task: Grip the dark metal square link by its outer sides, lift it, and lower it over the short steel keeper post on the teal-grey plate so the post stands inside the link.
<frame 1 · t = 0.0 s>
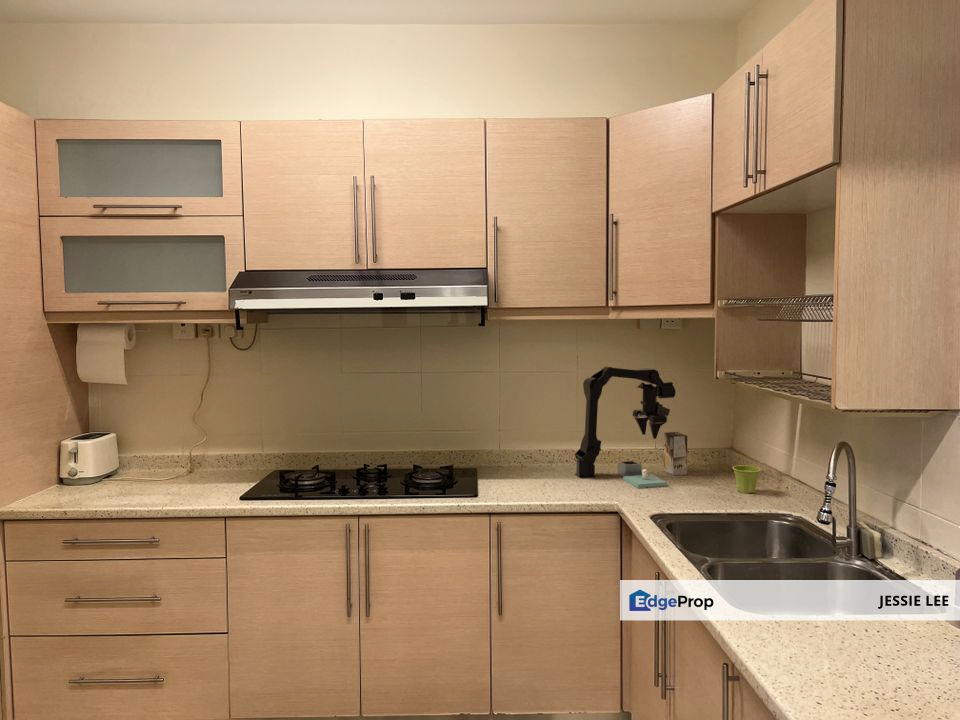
hand: (649, 436, 258), 15 cm above the worktop, tool pointing down, fingers open, 9 cm apart
keeper: (644, 483, 241), on the worktop
link: (629, 474, 253), on the worktop
plant pot: (746, 492, 228), on the worktop
coffee box: (675, 472, 257), on the worktop
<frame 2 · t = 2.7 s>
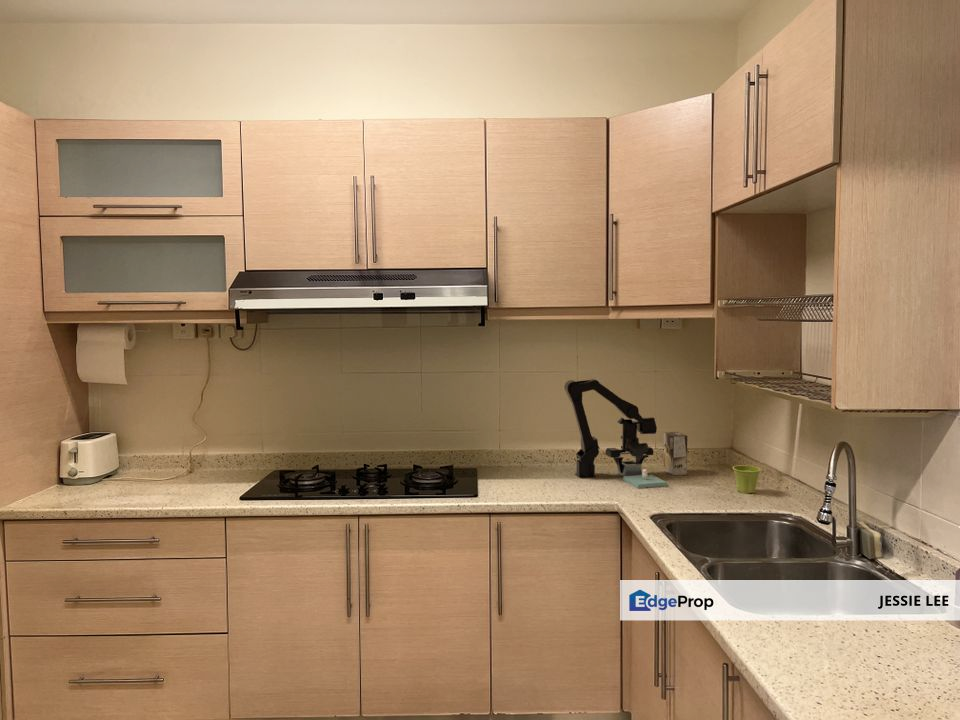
hand: (629, 472, 253), 1 cm above the worktop, tool pointing down, fingers closed on link, 7 cm apart
link: (629, 474, 253), on the worktop, touching gripper
everything else where it was.
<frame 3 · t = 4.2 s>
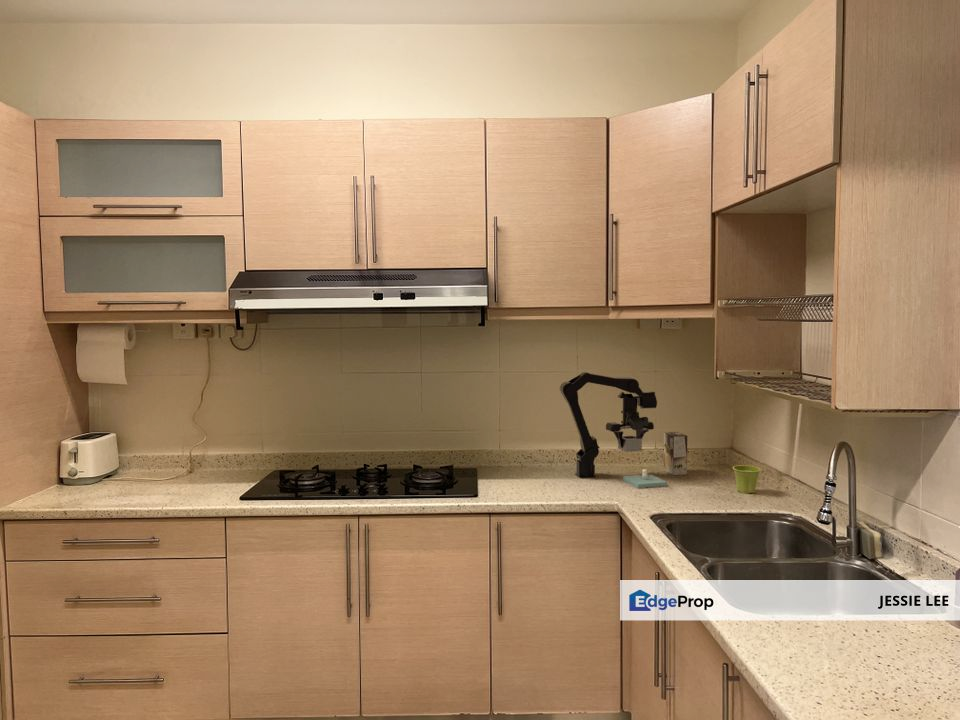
hand: (629, 447, 253), 11 cm above the worktop, tool pointing down, fingers closed on link, 7 cm apart
link: (629, 449, 253), point 10 cm above the worktop, touching gripper
everything else where it was.
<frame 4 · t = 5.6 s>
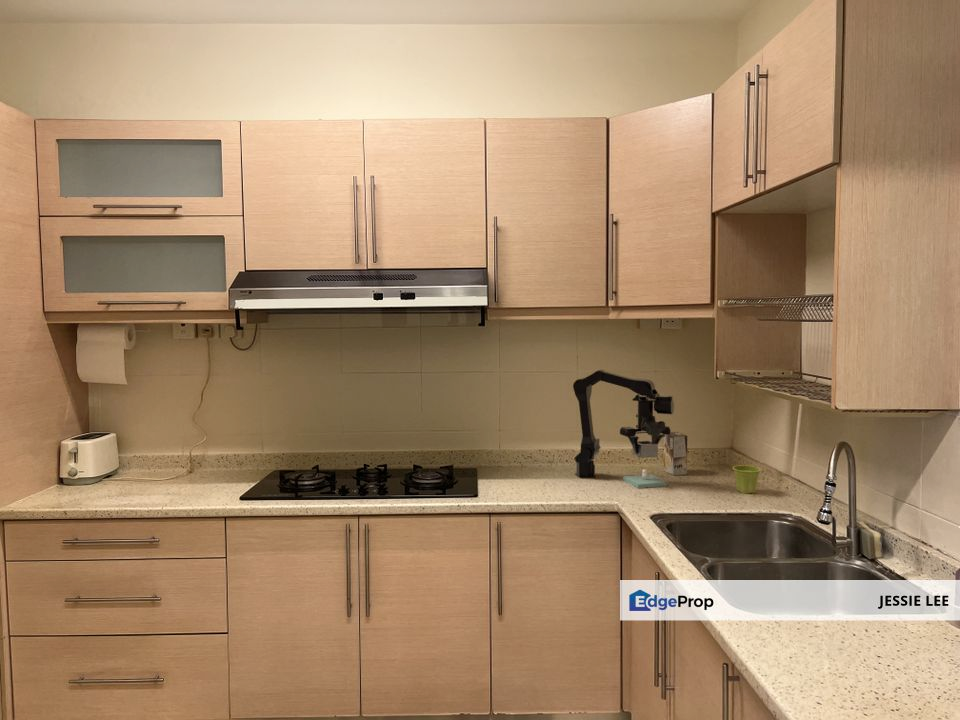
hand: (645, 452, 240), 12 cm above the worktop, tool pointing down, fingers closed on link, 7 cm apart
link: (644, 455, 240), point 11 cm above the worktop, touching gripper
everything else where it was.
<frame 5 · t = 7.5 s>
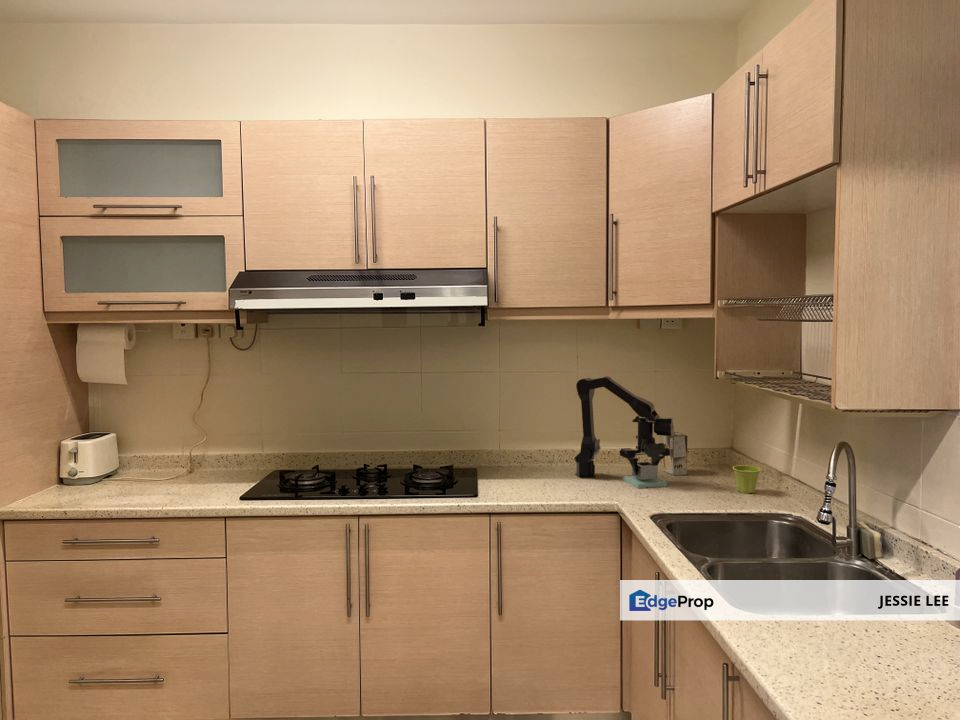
hand: (644, 474, 241), 4 cm above the worktop, tool pointing down, fingers closed on link, 7 cm apart
link: (644, 476, 241), point 3 cm above the worktop, touching gripper
everything else where it was.
when the fingers open (3 cm above the worktop, at t = 8.8 s): link stays where it is, resting on keeper.
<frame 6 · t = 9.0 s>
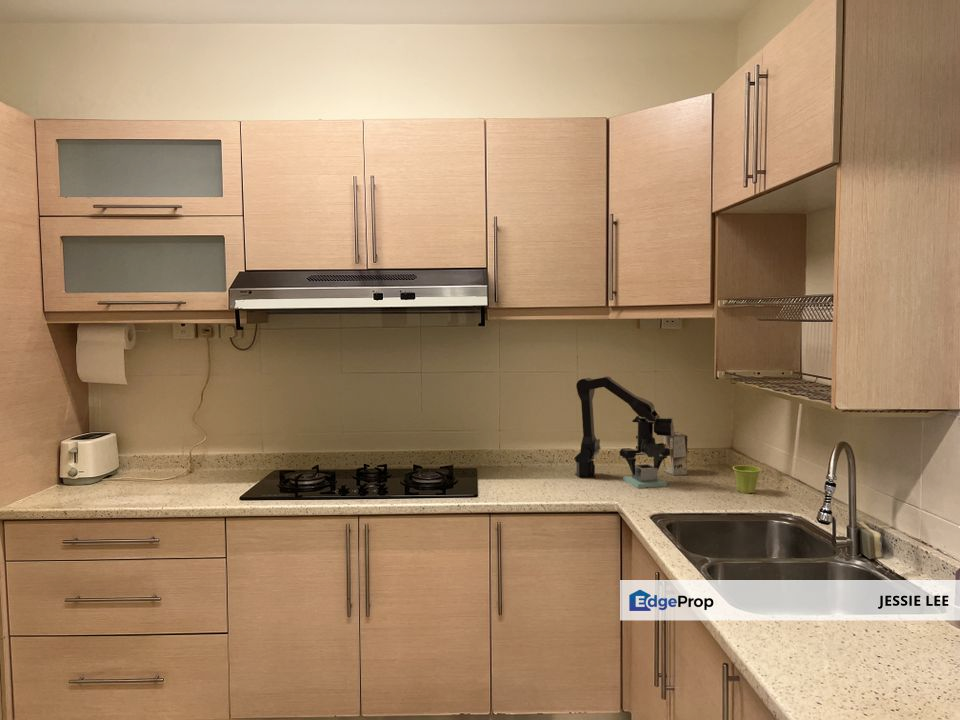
hand: (644, 474, 241), 3 cm above the worktop, tool pointing down, fingers open, 9 cm apart
link: (644, 479, 241), point 1 cm above the worktop, touching keeper
everything else where it was.
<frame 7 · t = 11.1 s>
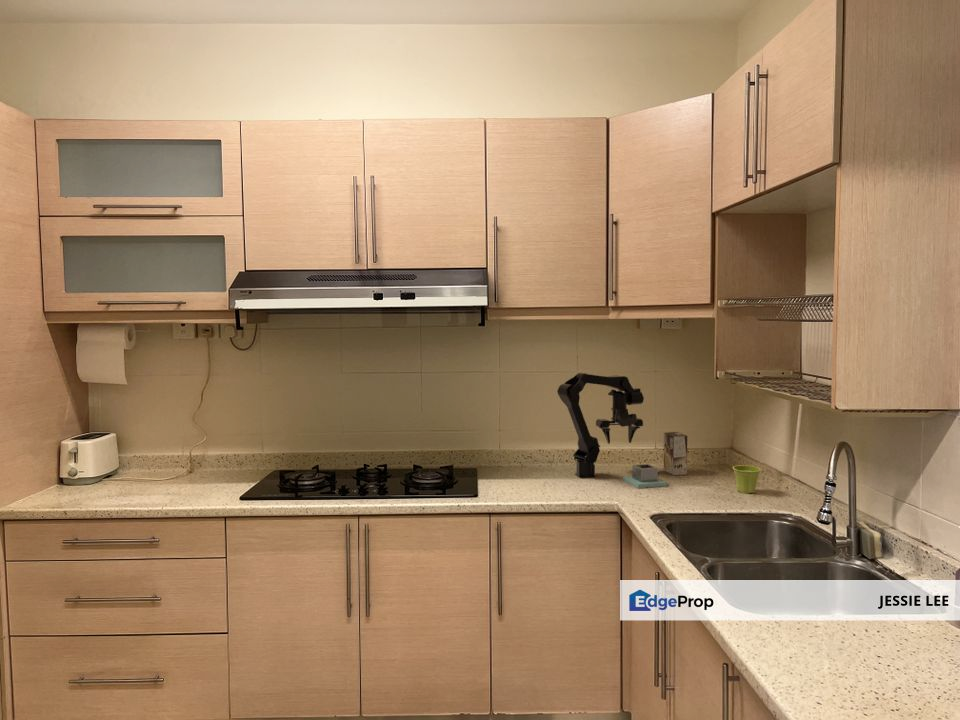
hand: (619, 443, 258), 12 cm above the worktop, tool pointing down, fingers open, 9 cm apart
nothing on the worktop moved.
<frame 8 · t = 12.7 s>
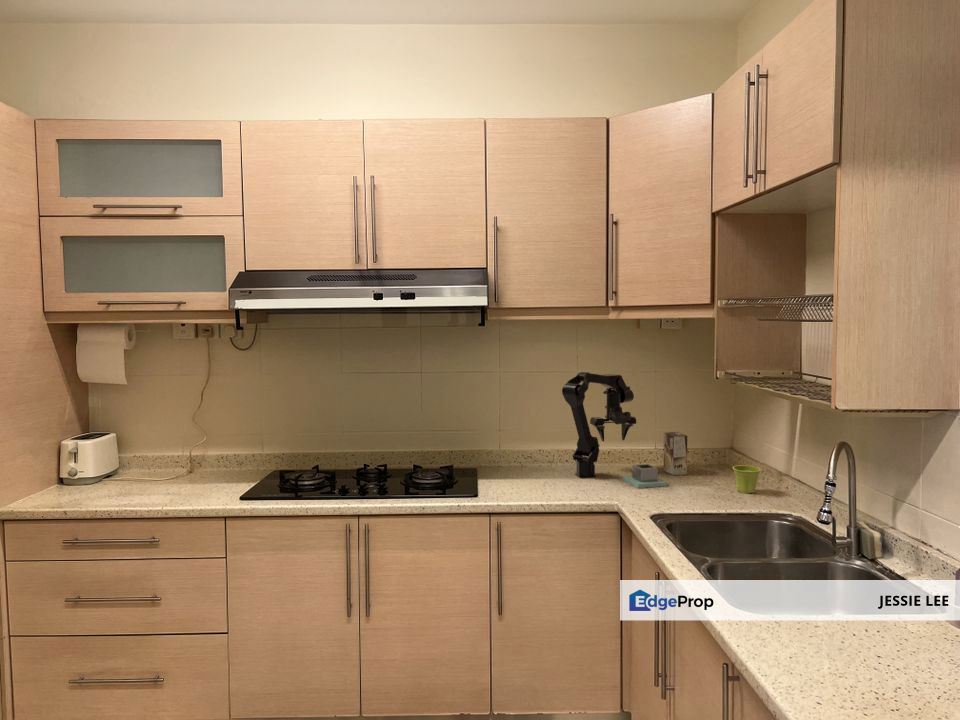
hand: (613, 440, 263), 12 cm above the worktop, tool pointing down, fingers open, 9 cm apart
nothing on the worktop moved.
at the end: link 0.0 cm from the keeper (horizontally); link point 1.5 cm above the worktop; the gripper is holding nothing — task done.
